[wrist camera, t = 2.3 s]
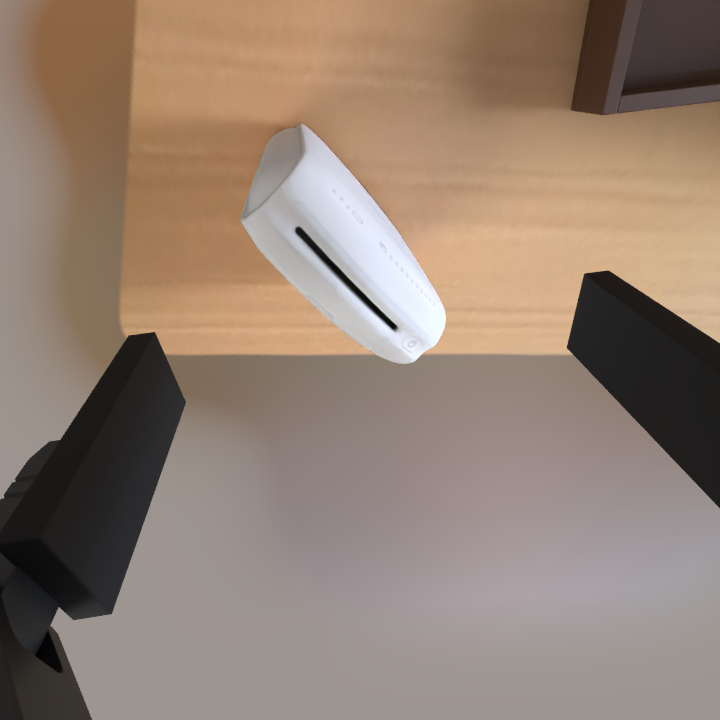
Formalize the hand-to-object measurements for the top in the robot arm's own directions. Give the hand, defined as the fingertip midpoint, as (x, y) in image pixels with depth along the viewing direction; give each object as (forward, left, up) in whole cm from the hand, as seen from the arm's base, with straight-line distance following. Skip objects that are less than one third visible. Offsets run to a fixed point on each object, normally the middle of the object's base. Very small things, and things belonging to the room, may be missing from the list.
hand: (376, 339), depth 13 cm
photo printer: (0, 0, -16) cm, 16 cm away
